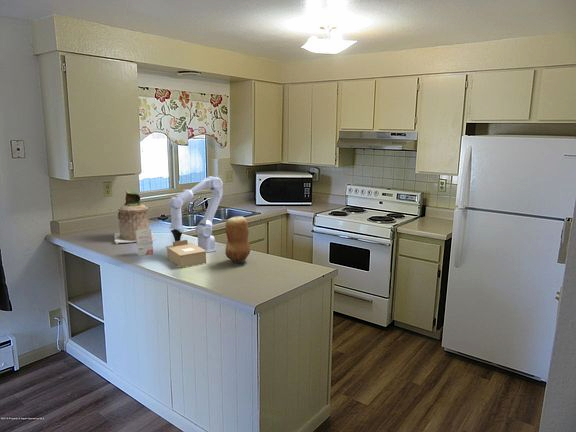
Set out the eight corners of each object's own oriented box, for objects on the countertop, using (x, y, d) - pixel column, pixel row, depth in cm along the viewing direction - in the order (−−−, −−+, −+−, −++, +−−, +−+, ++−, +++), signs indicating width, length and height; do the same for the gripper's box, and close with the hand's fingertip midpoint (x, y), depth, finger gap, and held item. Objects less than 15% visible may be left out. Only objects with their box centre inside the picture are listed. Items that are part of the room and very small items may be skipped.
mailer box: (191, 254, 243) (190, 244, 242) (206, 263, 227) (205, 252, 226) (167, 258, 235) (166, 248, 234) (181, 268, 219) (180, 256, 218)
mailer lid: (191, 243, 242) (191, 238, 242) (206, 251, 226) (206, 246, 225) (166, 247, 234) (165, 242, 233) (180, 256, 218) (180, 250, 217)
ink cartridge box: (153, 252, 248) (152, 227, 245) (153, 254, 243) (151, 229, 240) (138, 253, 245) (136, 228, 242) (137, 255, 241) (135, 230, 238)
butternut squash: (223, 259, 233) (222, 215, 228) (247, 257, 238) (246, 213, 233) (229, 267, 221) (227, 220, 216) (254, 264, 225) (253, 218, 220)
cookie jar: (156, 241, 271) (153, 191, 265) (114, 245, 262) (110, 193, 256) (152, 232, 294) (150, 186, 287) (114, 235, 285) (110, 188, 279)
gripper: (164, 217, 240) (166, 240, 243) (174, 221, 229) (175, 246, 231) (176, 215, 244) (178, 238, 247) (186, 220, 233) (187, 244, 235)
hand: (177, 242), depth 239 cm, fingers closed
